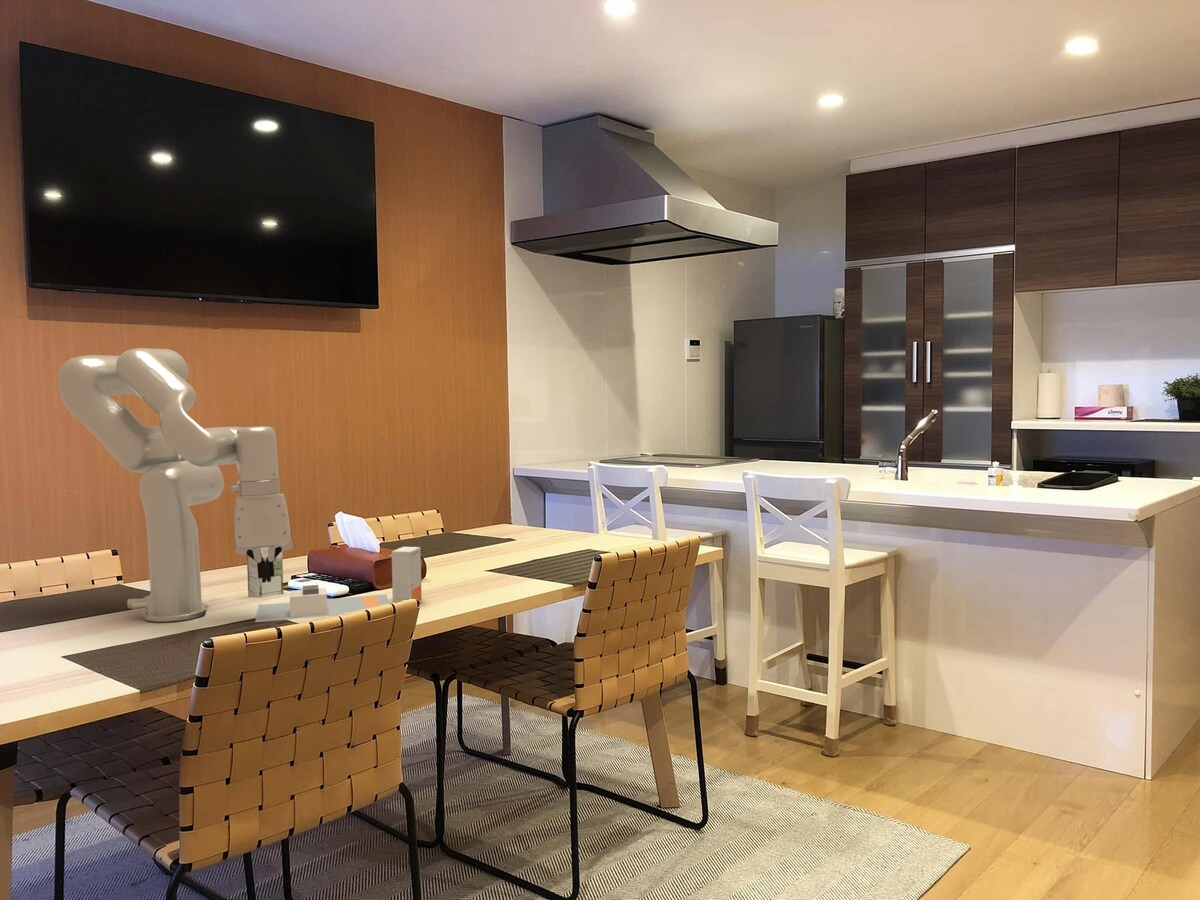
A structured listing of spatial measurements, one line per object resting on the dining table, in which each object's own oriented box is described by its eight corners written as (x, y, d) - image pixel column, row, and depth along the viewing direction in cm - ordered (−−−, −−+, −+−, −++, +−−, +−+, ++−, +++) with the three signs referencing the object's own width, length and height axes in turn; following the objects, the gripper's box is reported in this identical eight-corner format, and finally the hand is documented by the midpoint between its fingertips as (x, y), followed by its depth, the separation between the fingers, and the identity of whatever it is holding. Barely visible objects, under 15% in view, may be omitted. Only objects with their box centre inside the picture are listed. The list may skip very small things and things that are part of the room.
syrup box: (272, 594, 209) (270, 530, 208) (284, 598, 204) (281, 533, 203) (248, 598, 205) (245, 533, 204) (259, 602, 200) (256, 536, 199)
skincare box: (411, 608, 193) (409, 551, 192) (392, 607, 194) (390, 551, 193) (422, 601, 199) (421, 546, 198) (404, 601, 199) (402, 546, 199)
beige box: (290, 617, 182) (289, 592, 182) (291, 610, 188) (289, 586, 188) (327, 613, 184) (326, 589, 184) (326, 607, 190) (325, 583, 190)
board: (255, 628, 179) (255, 622, 179) (259, 610, 193) (258, 604, 193) (392, 615, 187) (392, 609, 187) (386, 599, 201) (385, 594, 201)
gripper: (217, 493, 176) (224, 589, 177) (299, 487, 180) (306, 580, 181) (220, 490, 183) (227, 582, 184) (299, 484, 188) (306, 573, 189)
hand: (266, 581), depth 183 cm, fingers closed
